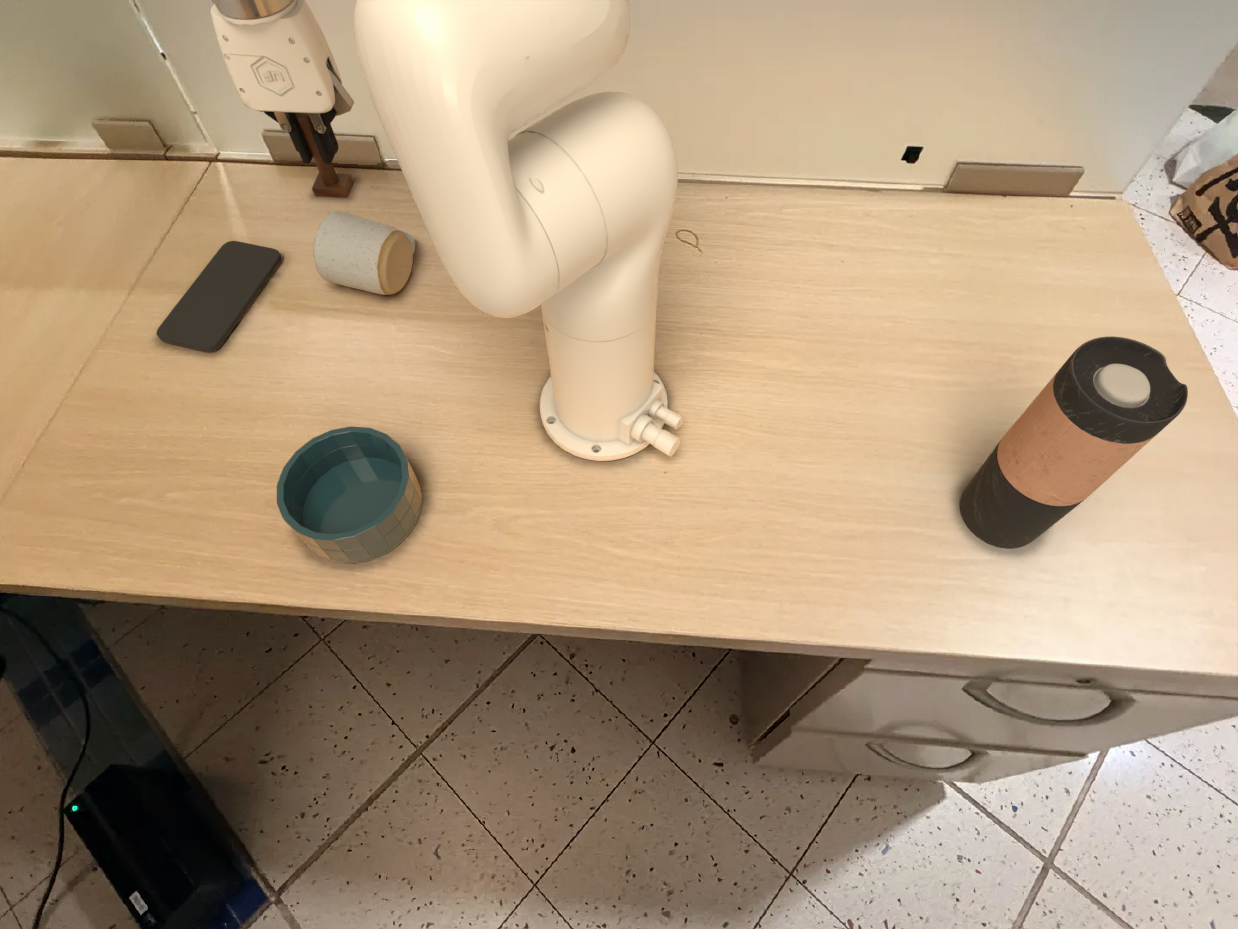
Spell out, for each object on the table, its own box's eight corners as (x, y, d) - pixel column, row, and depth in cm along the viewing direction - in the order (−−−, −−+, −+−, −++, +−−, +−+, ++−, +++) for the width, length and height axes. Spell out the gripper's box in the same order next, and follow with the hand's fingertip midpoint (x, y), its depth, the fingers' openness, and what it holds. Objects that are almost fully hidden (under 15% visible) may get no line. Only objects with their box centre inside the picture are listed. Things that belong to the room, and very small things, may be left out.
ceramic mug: (394, 311, 79) (374, 257, 73) (327, 296, 81) (301, 241, 74) (435, 246, 85) (419, 191, 78) (371, 233, 86) (350, 177, 80)
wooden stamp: (353, 181, 91) (324, 104, 82) (347, 197, 89) (316, 121, 80) (322, 180, 91) (289, 103, 82) (315, 196, 89) (281, 119, 81)
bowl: (434, 460, 70) (421, 431, 66) (406, 568, 64) (390, 544, 60) (320, 451, 70) (300, 422, 66) (282, 558, 65) (257, 534, 60)
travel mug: (943, 524, 66) (1054, 390, 49) (973, 463, 69) (1087, 318, 52) (1027, 567, 64) (1175, 444, 46) (1054, 502, 67) (1202, 364, 50)
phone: (151, 335, 77) (226, 238, 84) (155, 341, 78) (229, 244, 85) (212, 350, 76) (283, 250, 83) (216, 355, 77) (286, 255, 84)
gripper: (157, 7, 69) (245, 174, 85) (320, 12, 68) (378, 180, 84) (187, -34, 73) (266, 133, 88) (343, -29, 72) (394, 139, 88)
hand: (320, 155), depth 86 cm, fingers closed on wooden stamp
